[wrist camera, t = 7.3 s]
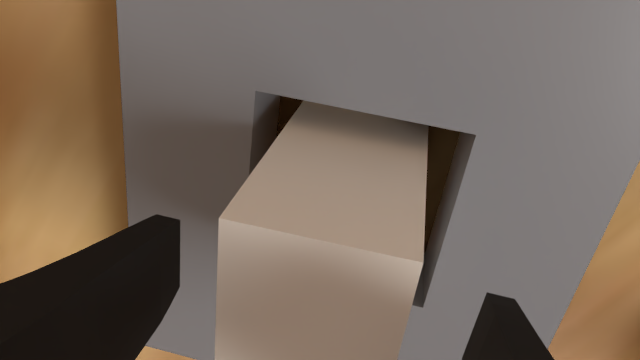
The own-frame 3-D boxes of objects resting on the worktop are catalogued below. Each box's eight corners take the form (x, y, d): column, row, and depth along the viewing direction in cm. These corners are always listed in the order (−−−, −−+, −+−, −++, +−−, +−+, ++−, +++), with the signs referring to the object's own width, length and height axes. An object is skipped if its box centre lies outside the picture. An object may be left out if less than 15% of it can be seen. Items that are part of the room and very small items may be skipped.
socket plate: (494, 374, 21) (502, 440, 18) (170, 292, 22) (134, 342, 20) (680, -56, 13) (741, -49, 10) (167, -134, 15) (108, -145, 12)
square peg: (404, 219, 18) (384, 405, 11) (296, 197, 19) (214, 362, 12) (429, 115, 16) (423, 262, 9) (308, 93, 17) (218, 218, 10)
